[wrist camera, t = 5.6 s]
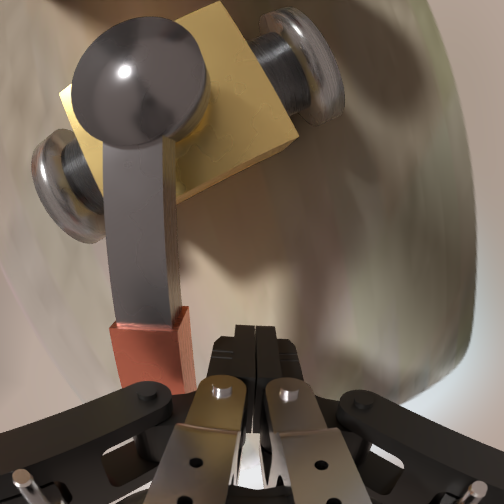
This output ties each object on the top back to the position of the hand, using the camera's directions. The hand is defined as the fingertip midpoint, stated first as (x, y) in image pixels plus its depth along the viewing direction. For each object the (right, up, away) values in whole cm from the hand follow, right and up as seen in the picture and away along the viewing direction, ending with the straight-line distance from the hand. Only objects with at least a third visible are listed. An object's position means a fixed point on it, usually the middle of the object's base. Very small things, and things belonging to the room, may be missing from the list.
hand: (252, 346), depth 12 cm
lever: (-3, +4, -2) cm, 6 cm away
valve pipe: (-3, +11, +5) cm, 13 cm away
